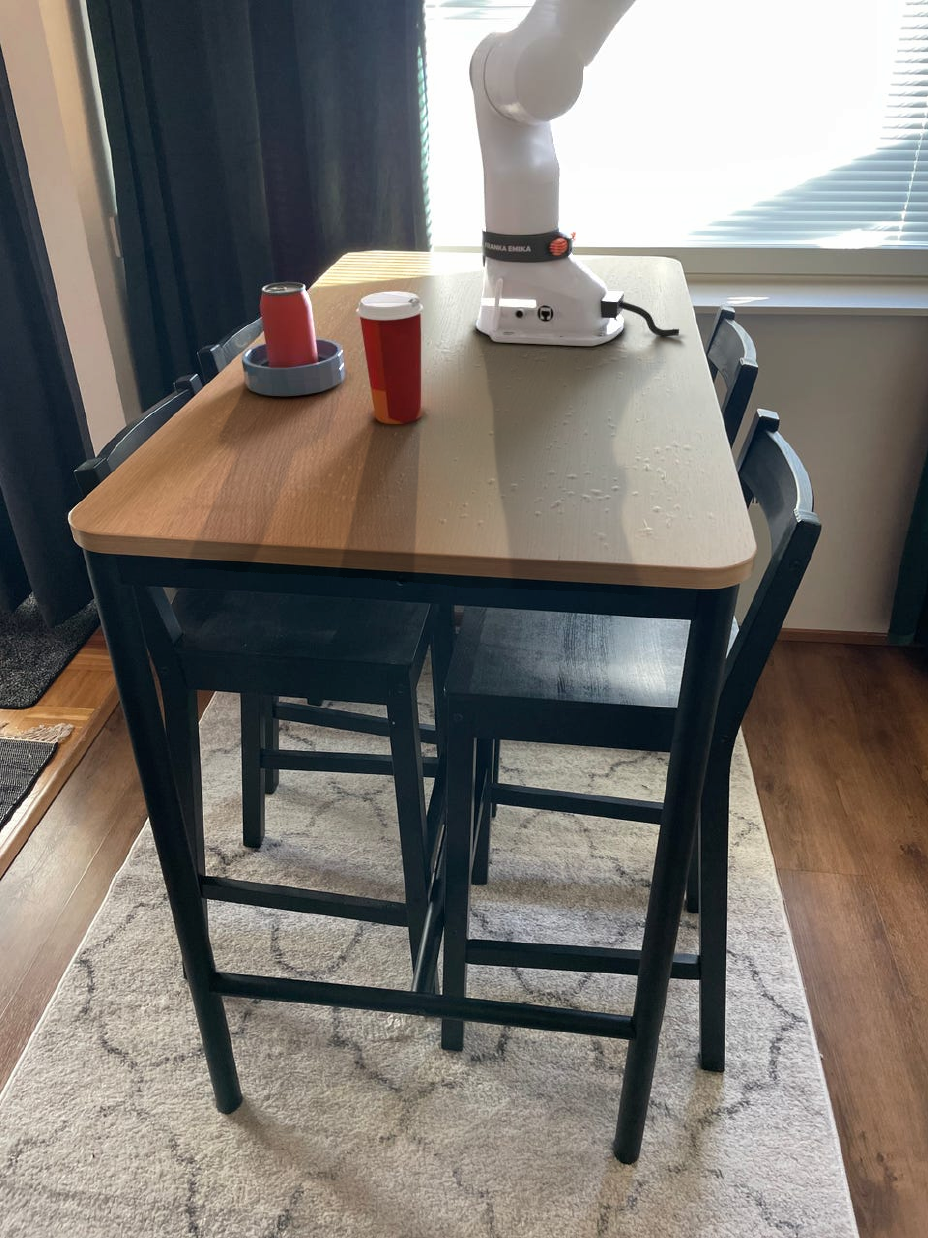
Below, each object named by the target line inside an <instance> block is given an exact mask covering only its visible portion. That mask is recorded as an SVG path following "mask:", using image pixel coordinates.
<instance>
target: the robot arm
mask: <svg viewBox="0 0 928 1238" xmlns="http://www.w3.org/2000/svg"><path fill="white" fill-rule="evenodd" d="M638 1H639V0H535V1H534V3H533V5H532V7H531V8H530V10H529V11H528V13H527V14H526V16H525V17H524V18H523V20H522V21H520V23H519V24H517V25H516V26H514V25H513V26H511V25H509V26H501V27H499V28H495V30H492V31H491V32H490V33H489V34H487V35H486V36H485V37H484V38H483V39H481V41H480V42H479V43H478V45H476V47H475V49H474V50H473V52H472V55H471V58H470V61H469V68H468V69H469V70H468V75H469V82H470V86H471V90H472V95H473V104H474V112H475V121H476V127H477V134H478V141H479V146H480V152H481V159H482V168H483V169H482V171H483V193H484V197H483V199H484V227H483V229H482V230H481V232H482V235H481V236H482V237H481V256H482V266H483V268H484V272H483V273H484V274H483V287H482V296H481V302H480V308H479V313H478V317H477V320H476V324H475V326H476V328H477V329H478V331H480V332H481V333H483V334H485V335H488V336H489V337H490V339H491V341H493V342H496V343H505V344H506V343H507V344H511V343H512V344H532V345H533V344H534V345H549V346H550V345H551V346H552V345H553V346H572V347H573V346H577V347H594V346H598V345H601V344H604V343H607V342H609V341H612V340H613V339H615V338H616V337H617V336H618V335H619V334H620V333H621V332H622V331H623V330H624V318H623V317H622V315H620V314H621V313H622V311H623V310H625V311H628V312H632V313H634V314H637V315H639V316H640V317H642V318H643V319H644V320H645V322H646V325H647V327H648V329H649V331H650V332H651V333H653V334H654V335H656V336H659V337H673V336H677V337H678V336H679V335H680V328H666V329H665V328H664V329H663V328H659V327H658V326H657V325H656V323H655V322H654V319H653V317H652V315H651V314H650V313H649V312H648V311H647V310H645V309H644V308H642V307H640V306H638V305H635V304H633V303H630V302H626V301H624V299H625V298H624V297H625V292H624V291H608V288H607V286H606V284H605V282H604V281H603V280H602V279H600V278H599V277H598V276H597V275H596V274H594V273H593V272H592V271H591V270H590V269H589V268H588V267H587V266H585V265H584V264H583V263H582V262H581V261H580V260H579V259H577V257H575V256H574V255H573V245H574V244H573V242H575V241H576V240H577V238H575V237H576V234H577V232H575V231H574V232H571V233H569V232H568V231H567V230H566V229H565V228H564V227H563V226H562V225H561V216H562V214H561V213H562V173H563V170H562V165H561V161H560V158H559V155H558V151H557V146H556V140H555V133H554V128H553V122H554V121H557V120H559V119H561V118H563V117H564V116H566V115H567V114H568V113H570V111H571V110H572V109H573V108H574V107H576V104H577V103H578V102H579V99H580V97H581V95H582V93H583V89H584V83H585V80H586V79H587V77H588V75H589V74H590V72H591V70H592V68H593V67H594V65H595V63H596V61H597V59H598V58H599V56H600V54H601V52H602V50H603V49H604V47H605V45H606V44H607V42H608V40H609V39H610V37H611V36H612V34H613V33H614V32H615V30H616V29H617V27H618V26H619V25H620V23H621V22H622V21H623V19H624V18H625V17H626V16H627V15H628V13H629V12H630V11H631V10H632V8H633V7H634V6H635V5H636V3H637V2H638Z"/></svg>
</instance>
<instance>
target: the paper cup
mask: <svg viewBox="0 0 928 1238" xmlns="http://www.w3.org/2000/svg"><path fill="white" fill-rule="evenodd" d="M420 301H421V300H420V297H419V296H418V295H417V294H415V293H413V292H408V291H396V290H395V291H392V290H391V291H382V292H381V291H379V292H375V293H371V294H368V295H365V296H363V297H361V299H360V301H359V302H358V308H357V309H356V310H355V313H356V315H357V316H358V317H359V320H360V326H361V333H362V341H363V347H364V352H365V359H366V360H365V361H366V366H367V373H368V381H369V386H370V392H371V399H372V405H373V410H374V416H375V419H376V420H377V421H378V422H380V423H382V424H387V425H402V424H409V423H412V422H415V421H417V420H418V419H419V418H420V417H421V413H422V313H423V311H424V307H423V304H421V302H420Z"/></svg>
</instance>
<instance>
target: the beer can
mask: <svg viewBox="0 0 928 1238" xmlns="http://www.w3.org/2000/svg"><path fill="white" fill-rule="evenodd" d="M260 290H261V297H260V301H259V309H260V318H261V323H262V331H263V337H264V343H266V350H267V356H268V363H269V367H271V368H287V367H298V366H305V365H310V364H315V363H318V355H317V347H316V339H315V338H316V331H315V324H314V316H313V315H314V314H313V307H312V302H311V299H310V296H309V294H308V293H307V291H306V285H305V284H304V283H301V282H297V281H295V282H294V281H283V282H282V281H281V282H274V283H269V284H267V285H264V286H263V287H262V288H261V289H260Z"/></svg>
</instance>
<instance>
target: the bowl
mask: <svg viewBox="0 0 928 1238" xmlns="http://www.w3.org/2000/svg"><path fill="white" fill-rule="evenodd" d="M315 339H316V347H317V355H318V363H315V364H310V365H305V366H298V367H287V368H271V367H269V363H268V356H267V350H266V343H265V342H263V343H259V344H256V345H254V346H252V347H249V348H248V349H247V350H245V351H244V352H243V353H242V354H241V365H242V369H243V376H244V382H245V386H246V388H247V389H248V390H249V391H251V392H254V393H256V394H259V395H264V396H270V397H294V396H304V395H310V394H316V393H320V392H323V391H326V390H329V389H332V388H334V387H336V386H337V385H339V384H341V383H342V382H343V381H344V380H345V378H346V373H345V371H346V370H345V363H344V362H345V361H344V352H343V348H342V345H341V344H339V343H338V342H336V341H333V340H330V339H326V338H319V337H315Z"/></svg>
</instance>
